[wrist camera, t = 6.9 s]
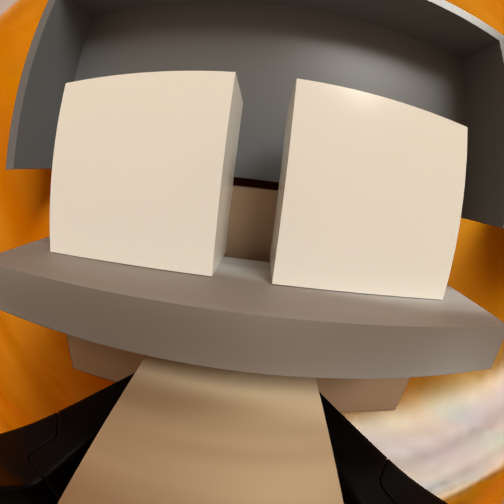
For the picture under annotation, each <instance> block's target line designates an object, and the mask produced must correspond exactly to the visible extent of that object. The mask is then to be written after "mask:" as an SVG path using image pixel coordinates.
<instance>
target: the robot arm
mask: <svg viewBox="0 0 504 504" xmlns="http://www.w3.org/2000/svg"><path fill="white" fill-rule="evenodd" d="M134 374H135V373H133V374H131V375H129V376H127V377H125V378H123V379H122V380H120V381H118V382H116V383H114V384H112V385H110V386H108V387H106V388H104V389H102V390H100V391H99V392H97V393H95V394H93V395H91V396H89V397H87V398H85V399H83V400H81V401H79V402H77V403H75V404H73V405H71V406H69V407H67V408H65V409H63V410H60V411H59V412H58V413H54V414H52V415H50V416H48V417H46V418H43V419H41V420H39V421H36V422H34V423H32V424H29V425H26V426H23V427H20V428H17V429H14V430H11V431H8V432H5V433H1V434H0V504H58V502H59V500H60V498H61V496H62V495H63V493H64V491H65V489H66V487H67V486H68V484H69V482H70V480H71V479H72V477H73V475H74V473H75V472H76V470H77V468H78V466H79V465H80V463H81V461H82V460H83V458H84V456H85V454H86V453H87V451H88V449H89V448H90V446H91V444H92V442H93V441H94V439H95V437H96V436H97V434H98V432H99V431H100V429H101V427H102V426H103V424H104V422H105V421H106V419H107V418H108V416H109V414H110V413H111V411H112V409H113V408H114V406H115V404H116V403H117V401H118V400H119V398H120V396H121V395H122V393H123V392H124V390H125V388H126V387H127V385H128V384H129V382H130V380H131V379H132V377H133V376H134ZM319 394H320V398H321V402H322V406H323V411H324V415H325V419H326V424H327V428H328V432H329V437H330V441H331V446H332V450H333V455H334V460H335V464H336V469H337V474H338V479H339V483H340V488H341V493H342V498H343V503H344V504H448V503H446V502H444V501H443V500H441V499H440V498H438V497H437V496H435V495H434V494H432V493H431V492H429V491H428V490H426V489H425V488H423V487H422V486H420V485H419V484H418V483H416V482H415V481H414V480H412V479H411V478H410V477H408V476H407V475H406V474H405V473H404V472H403V471H401V470H400V469H399V468H398V467H397V466H396V465H395V464H393V463H392V462H391V461H390V460H389V459H388V460H387V457H386V456H385V455H384V454H382V453H381V452H380V451H379V450H378V449H377V448H376V447H375V446H374V445H373V444H372V443H371V442H370V441H369V440H368V439H367V438H366V437H365V436H364V435H362V434H361V433H360V432H359V431H358V430H357V429H356V428H355V427H354V426H353V425H352V424H351V423H350V422H349V421H348V420H347V419H346V418H345V417H344V416H343V415H342V414H341V413H340V412H339V411H338V410H337V409H336V408H335V407H334V406H333V405H332V404H331V403H330V402H329V401H328V400H327V399H326V398H325V397H324V396H323V395H322V394H321V393H320V392H319Z"/></svg>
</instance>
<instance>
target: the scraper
mask: <svg viewBox="0 0 504 504" xmlns="http://www.w3.org/2000/svg"><path fill="white" fill-rule="evenodd" d="M0 310H2V311H5V312H7V313H9V314H12V315H14V316H17V317H19V318H22V319H25V320H27V321H30V322H33V323H36V324H38V325H41V326H44V327H47V328H50V329H53V330H56V331H59V332H62V333H65V334H68V335H71V336H74V337H78V338H81V339H84V340H88V341H91V342H95V343H98V344H102V345H106V346H110V347H113V348H117V349H121V350H125V351H130V352H134V353H138V354H142V355H146V357H145V358H144V360H143V361H142V363H141V365H140V366H139V368H138V369H137V371H136V372H135V374H134V376H133V377H132V379H131V380H130V382H129V384H128V385H127V387H126V388H125V390H124V392H123V393H122V395H121V396H120V398H119V400H118V401H117V403H116V404H115V406H114V408H113V409H112V411H111V413H110V414H109V416H108V418H107V419H106V421H105V422H104V424H103V426H102V427H101V429H100V431H99V432H98V434H97V436H96V437H95V439H94V441H93V442H92V444H91V446H90V448H89V449H88V451H87V453H86V454H85V456H84V458H83V460H82V461H81V463H80V465H79V466H78V468H77V470H76V472H75V473H74V475H73V477H72V479H71V480H70V482H69V484H68V486H67V487H66V489H65V491H64V493H63V495H62V496H61V498H60V500H59V502H58V504H344V503H343V498H342V493H341V488H340V483H339V479H338V474H337V469H336V464H335V460H334V455H333V450H332V446H331V441H330V437H329V432H328V428H327V424H326V419H325V415H324V411H323V406H322V402H321V398H320V394H319V390H318V385H317V381H316V378H340V379H379V378H406V377H422V376H435V375H446V374H455V373H463V372H471V371H478V370H485V369H491V367H492V364H493V362H494V360H495V358H496V356H497V353H498V351H499V349H500V346H501V344H502V342H503V339H504V322H502V321H501V320H499V319H498V318H496V317H495V316H494V315H492V314H491V313H489V312H488V311H486V310H485V309H483V308H482V307H480V306H479V305H478V304H476V303H475V302H473V301H472V300H470V299H468V298H467V297H465V296H464V295H462V294H461V293H459V292H458V291H456V290H455V289H453V288H452V287H450V286H448V285H447V286H446V290H445V294H444V297H443V300H438V299H425V298H412V297H399V296H387V295H376V294H365V293H354V292H344V291H334V290H324V289H314V288H305V287H296V286H287V285H278V284H272V278H271V267H270V262H264V261H255V260H247V259H239V258H231V257H223V258H222V260H221V261H220V263H219V265H218V267H217V269H216V270H215V272H214V274H213V276H205V275H197V274H190V273H183V272H175V271H168V270H161V269H155V268H148V267H141V266H134V265H128V264H121V263H115V262H109V261H103V260H96V259H90V258H84V257H78V256H72V255H67V254H61V253H55V252H50V237H47V238H43V239H40V240H37V241H34V242H31V243H28V244H25V245H22V246H19V247H17V248H14V249H11V250H8V251H5V252H2V253H0Z"/></svg>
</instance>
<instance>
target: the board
mask: <svg viewBox="0 0 504 504" xmlns="http://www.w3.org/2000/svg"><path fill="white" fill-rule="evenodd" d="M277 196H278V190H271V189H263V188H255V187H246V186H237V185H233V190H232V199H231V208H230V217H229V227H228V236H227V246H226V253H225V254H224V256H223V257H231V258H239V259H247V260H255V261H264V262H270V251H271V243H272V236H273V228H274V220H275V212H276V204H277ZM66 335H67V341H68V346H69V351H70V356H71V360H72V365H73V368H74V369H77V370H80V371H82V372H85V373H88V374H91V375H94V376H98V377H101V378H104V379H107V380H111V381H114V382H118V381H120V380H122V379H123V378H125V377H127V376H129V375H131V374H133V373H135V372H136V371H137V369H138V368H139V366H140V365H141V363H142V361H143V360H144V358H145V357H146V355H142V354H138V353H134V352H130V351H125V350H121V349H117V348H113V347H110V346H106V345H102V344H98V343H95V342H91V341H88V340H84V339H81V338H78V337H74V336H71V335H68V334H66ZM409 379H410V377H406V378H379V379H340V378H316V381H317V385H318V390H319V392H320V393H321V394H322V395H323V396H324V397H325V398H326V399H327V400H328V401H329V402H330V403H331V404H332V405H333V406H334V407H335V408H336V409H337V410H338V411H339V412H340V413H348V412H375V411H389V410H395V409H396V407H397V405H398V403H399V401H400V399H401V396H402V394H403V392H404V390H405V388H406V386H407V384H408V381H409Z"/></svg>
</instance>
